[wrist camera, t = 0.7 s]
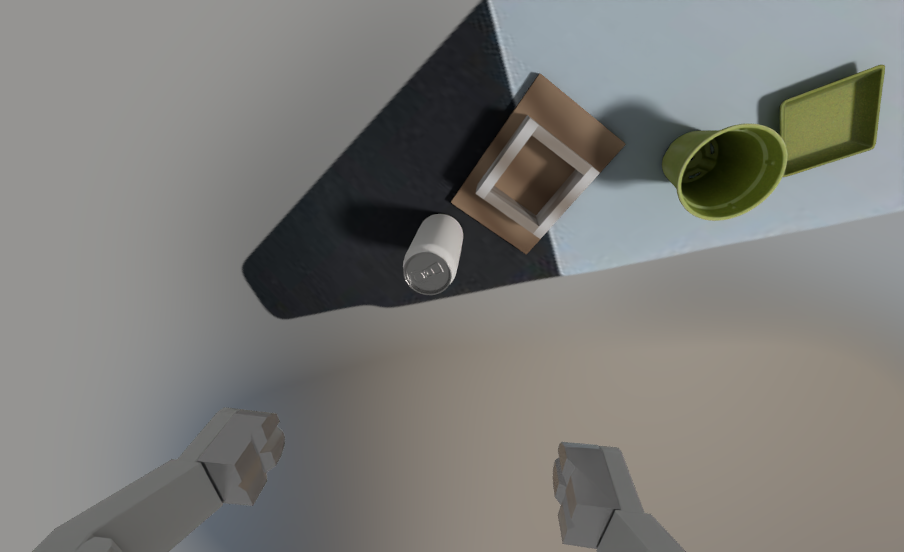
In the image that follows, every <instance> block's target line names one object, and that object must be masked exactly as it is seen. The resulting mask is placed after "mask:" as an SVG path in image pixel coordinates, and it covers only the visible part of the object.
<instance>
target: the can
mask: <svg viewBox="0 0 904 552" xmlns="http://www.w3.org/2000/svg"><path fill="white" fill-rule="evenodd" d="M462 242H463V231H462V228H461V226H460V224H459V223H458V222H457V221H456V220H455V219H454V218H453V217H451V216H449V215H445V214H434V215H431V216H429V217H427V218H426V219H425V220H424V221H423V222H422V224H421V226H420V227H419V229H418V231H417V233H416V235H415V237H414V239H413V241H412V243H411V245H410V247H409V249H408V251H407V253H406V255H405V258H404V262H403V268H404V271H403V273H404V278H405V280H406V282H407V284H408V285H409V286H410V287H411V288H412V289H413V290H415V291H416V292H418V293H421V294H425V295H435V294H438V293H441V292H442V291H444V290H445V289H446V288H447V287H448V286H449V284H450V283H451V282H452V281H453V279H454V277H455V275H456V271H457V267H458V262H459V257H460V252H461V247H462Z"/></svg>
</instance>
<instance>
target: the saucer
mask: <svg viewBox="0 0 904 552" xmlns="http://www.w3.org/2000/svg"><path fill="white" fill-rule="evenodd" d="M884 74H885V66H884V65H878V66H875V67H873V68H870V69H867V70H865V71H862V72H860V73H857V74H854V75H851V76H849V77H846V78H843V79H841V80H838V81H835V82H833V83H830V84H827V85H824V86H822V87H819V88H817V89H814V90H811V91H809V92H806V93H803V94H800V95H798V96H795V97H792V98H790V99H787V100H785V101H783V102H782V103H781V105H780V137H781V138H782V139H783V141H784V143H785V145H786V149H787V165H786V169H785V172H784V174H783V177H787V176H790V175H793V174H797V173H799V172H803V171H806V170H809V169H812V168H815V167H818V166H821V165H824V164H827V163H831V162H834V161H837V160H840V159H843V158H847V157H850V156H853V155H856V154H859V153H862V152H866V151H869V150H871V149H873V148H874V147H875V144H876V139H877V130H878V121H879V112H880V103H881V96H882V87H883V82H884Z"/></svg>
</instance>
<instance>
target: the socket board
mask: <svg viewBox="0 0 904 552" xmlns="http://www.w3.org/2000/svg"><path fill="white" fill-rule="evenodd" d="M625 145H626V144H625V143H624V142H623V141H622V140H620V139H619V138H618V137H617V136H615V135H614V134H613V133H612V132H611V131H609V130H608V129H607V128H606V127H605V126H603V125H602V124H601V123H600V122H599V121H597V120H596V119H595V118H594V117H592V116H591V115H590V114H589V113H588V112H586V111H585V110H584V109H583V108H582V107H580V106H579V105H578V104H577V103H575V102H574V101H573V100H572V99H571V98H569V97H568V96H567V95H566V94H565V93H563V92H562V91H561V90H560V89H559V88H557V87H556V86H555V85H554V84H552V83H551V82H550V81H549V80H548V79H546V78H545V77H544V76H543V75H542V74H540V73H539V75H538V76H537V78H536V79H535V80H534V82H533V83H532V85H531V86H530V88H529V89H528V91H527V92H526V93H525V95H524V96H523V98H522V99H521V101H520V102H519V104H518V105H517V106H516V108H515V109H514V111H513V112H512V114H511V115H510V117H509V118H508V120H507V121H506V122H505V124H504V125H503V127H502V128H501V130H500V131H499V133H498V134H497V135H496V137H495V138H494V140H493V141H492V143H491V144H490V146H489V147H488V148H487V150H486V151H485V153H484V154H483V156H482V157H481V159H480V160H479V161H478V163H477V164H476V166H475V167H474V169H473V170H472V172H471V173H470V175H469V176H468V177H467V179H466V180H465V182H464V183H463V185H462V186H461V188H460V189H459V190H458V192H457V193H456V195H455V196H454V198H453V199H452V201H451V203H452V204H454V205H455V206H457V207H458V208H459V209H461V210H462V211H464V212H465V213H467V214H468V215H470V216H471V217H473V218H474V219H475V220H477V221H478V222H480V223H481V224H483V225H484V226H486V227H487V228H489V229H490V230H492V231H493V232H494V233H496V234H497V235H499V236H500V237H502V238H503V239H505V240H506V241H508V242H509V243H511V244H512V245H513V246H515V247H516V248H518V249H519V250H521V251H522V252H524V253H525V254H527V253H528V252H529V251H530V250H531V249H532V248H533V247H534V245H535V244H536V243H537V242H538V241H539V240H540V239H541V238H542V237H543V235H544V234H545V233H546V232H547V231H548V230H549V229H550V228H551V227H552V226H553V224H554V223H555V222H556V221H557V220H558V219H559V218H560V217H561V216H562V214H563V213H564V212H565V211H566V210H567V209H568V208H569V207H570V206H571V204H572V203H573V202H574V201H575V200H576V199H577V198H578V197H579V196H580V195H581V193H582V192H583V191H584V190H585V189H586V188H587V187H588V186H589V185H590V183H591V182H592V181H593V180H594V179H595V178H596V177H597V176H598V175H599V173H600V172H601V171H602V170H603V169H604V168H605V167H606V166H607V165H608V163H609V162H610V161H611V160H612V159H613V158H614V157H615V156H616V155H617V154H618V152H619V151H620V150H621V149H622V148H623V147H624V146H625Z"/></svg>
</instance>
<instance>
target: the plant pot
mask: <svg viewBox="0 0 904 552" xmlns="http://www.w3.org/2000/svg"><path fill="white" fill-rule="evenodd" d="M710 143H711V144H712V145H713V147H714V153H713V154H711V149H710V145H709V144H710ZM692 157H694V159H693V160H691V158H692ZM690 160H691V161H690ZM786 165H787V149H786V145H785V143H784V141H783V139H782V138H781V137H780V135H779V134H778V133H777V132H776V131H774V130H773V129H771V128H769V127H766V126H763V125H759V124H739V125H734V126H730V127H727V128H724V129H722V130H720V131H693V132H689V133H686V134H684V135H682V136H680V137H679V138H677V139H676V140H675V141H673V142H672V144H671V145H670V147H669V148H668V150H667V152H666V153H665V155H664V157H663V160H662V169H663V172H664V174H665V176H666V177H667V178H668V180H669V181H670V182H671V183H672V184H673V185H674V186H675V188H676V189H677V194H678V198H679V200H680V202H681V204H682V205H683V206H684V208H685V209H686V210H687V211H688V212H689V213H691V214H692V215H694V216H696V217H698V218H701V219H705V220H712V221H716V220H726V219H731V218H734V217H737V216H740V215H742V214H744V213H746V212H748V211H750V210H752V209H753V208H755V207H756V206H758V205H759V204H760V203H762V202H763V201H764V200H765V199H766V198H767V197H768V196H769V195H770V194H771V193H772V192H773V191H774V190H775V188H776V187H777V185H778V184H779V182H780V180H781V179H782V177H783V174H784V172H785V169H786ZM699 172H701V173H700V174H699V175H698V176H696V177H694V178H689V176H692V175H695V174H697V173H699Z"/></svg>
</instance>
